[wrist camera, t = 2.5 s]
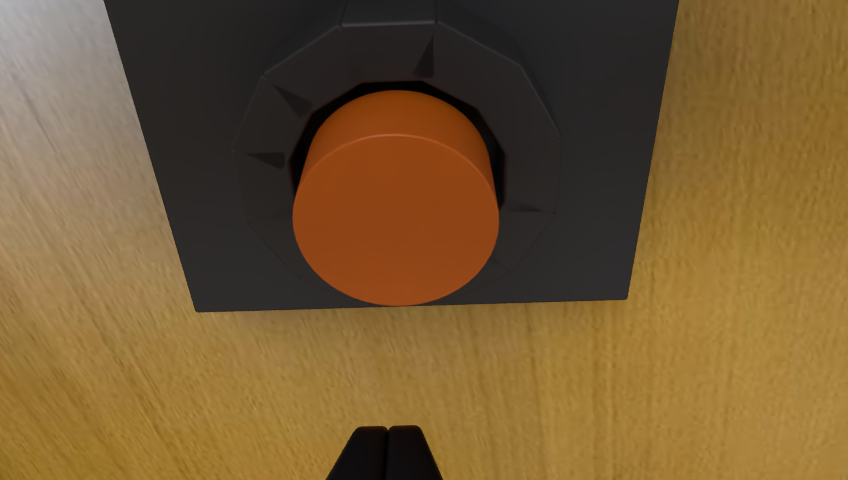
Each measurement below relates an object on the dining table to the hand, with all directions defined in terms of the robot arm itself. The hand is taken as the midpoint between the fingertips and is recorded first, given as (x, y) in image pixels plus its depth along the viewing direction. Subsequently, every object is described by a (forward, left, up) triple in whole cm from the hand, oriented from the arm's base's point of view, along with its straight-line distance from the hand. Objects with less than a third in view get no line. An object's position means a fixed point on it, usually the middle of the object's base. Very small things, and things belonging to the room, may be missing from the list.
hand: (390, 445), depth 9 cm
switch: (0, 0, -7) cm, 7 cm away
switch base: (0, 0, -11) cm, 11 cm away
